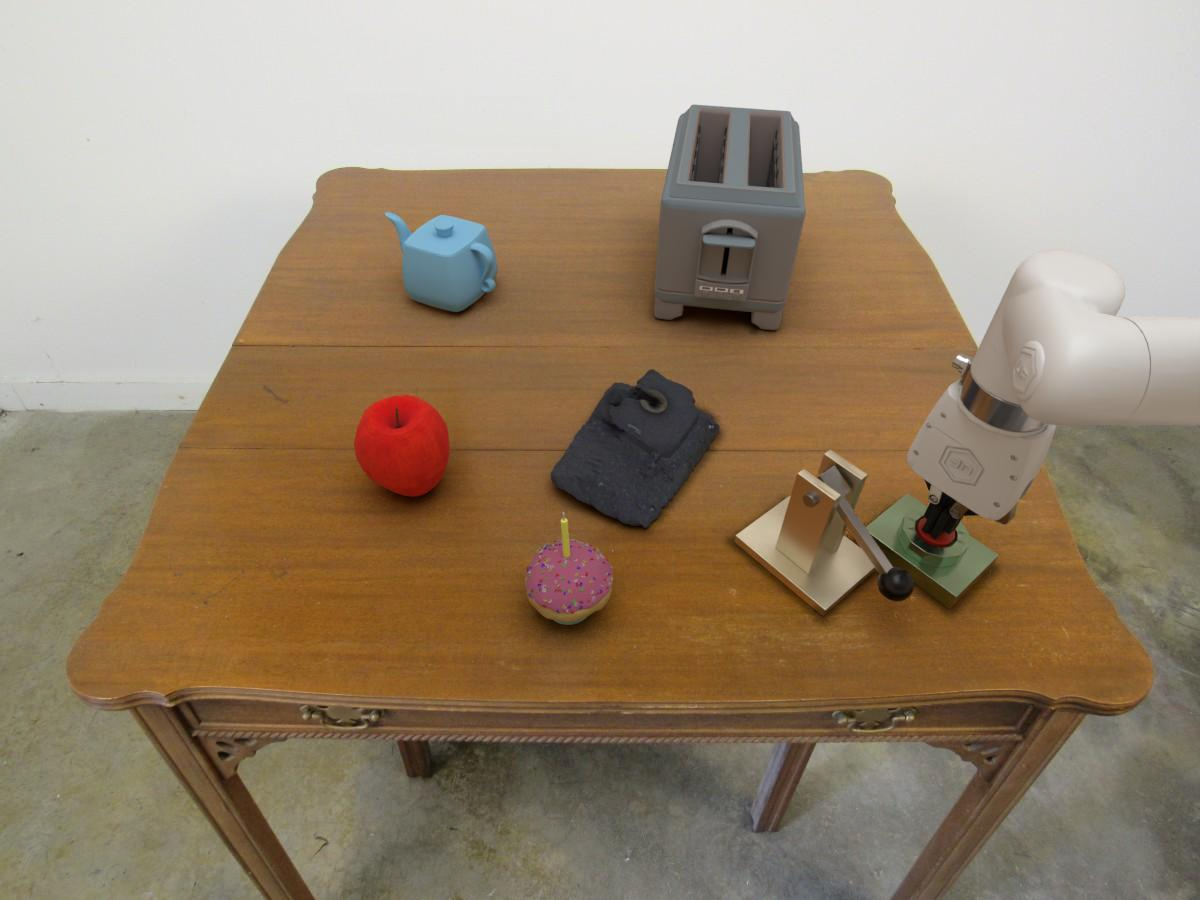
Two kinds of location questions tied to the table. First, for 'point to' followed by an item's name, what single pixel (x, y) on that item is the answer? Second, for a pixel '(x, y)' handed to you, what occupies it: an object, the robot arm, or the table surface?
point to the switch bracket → (811, 538)
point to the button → (941, 541)
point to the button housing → (930, 552)
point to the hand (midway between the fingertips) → (936, 528)
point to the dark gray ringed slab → (636, 449)
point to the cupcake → (568, 579)
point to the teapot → (446, 261)
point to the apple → (403, 444)
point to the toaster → (730, 213)
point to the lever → (869, 542)
